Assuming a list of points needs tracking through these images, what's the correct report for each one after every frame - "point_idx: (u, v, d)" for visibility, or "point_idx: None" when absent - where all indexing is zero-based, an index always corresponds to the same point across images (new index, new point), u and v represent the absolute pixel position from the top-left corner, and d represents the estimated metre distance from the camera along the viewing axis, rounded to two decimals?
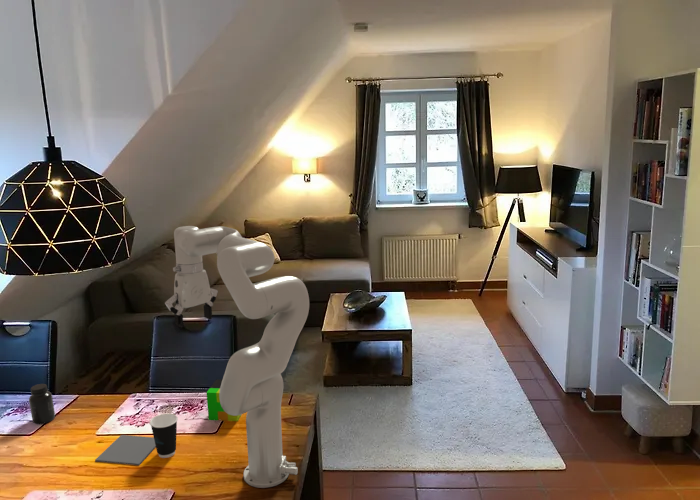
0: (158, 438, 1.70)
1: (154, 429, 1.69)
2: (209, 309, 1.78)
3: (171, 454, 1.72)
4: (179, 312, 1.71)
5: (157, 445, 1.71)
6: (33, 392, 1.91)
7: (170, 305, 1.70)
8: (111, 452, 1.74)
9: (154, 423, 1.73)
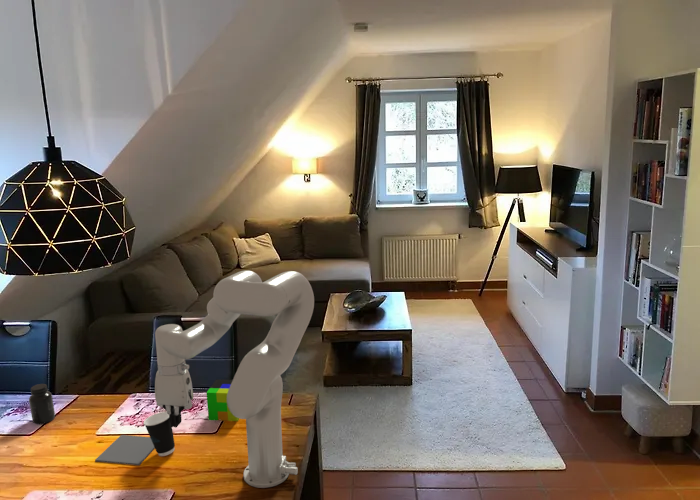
0: (154, 436, 1.70)
1: (148, 428, 1.69)
2: None
3: (170, 451, 1.72)
4: None
5: (154, 444, 1.71)
6: (33, 392, 1.91)
7: None
8: (111, 452, 1.74)
9: (149, 423, 1.74)
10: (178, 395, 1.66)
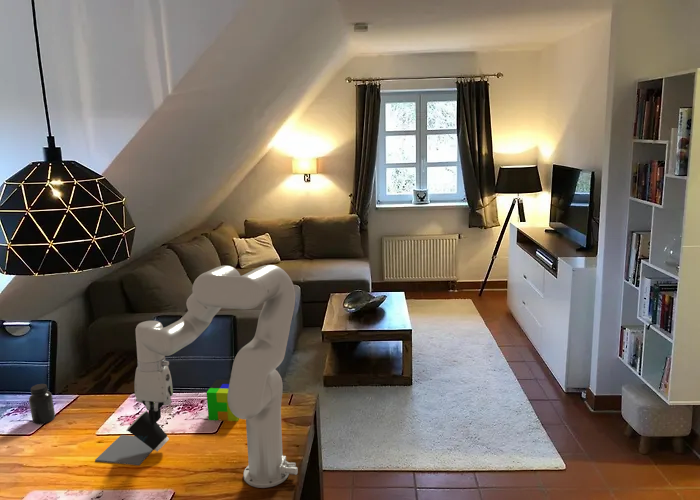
0: (140, 435, 1.71)
1: (131, 431, 1.71)
2: None
3: (163, 441, 1.72)
4: None
5: (146, 442, 1.71)
6: (33, 392, 1.91)
7: None
8: (111, 452, 1.74)
9: None
10: (157, 391, 1.67)
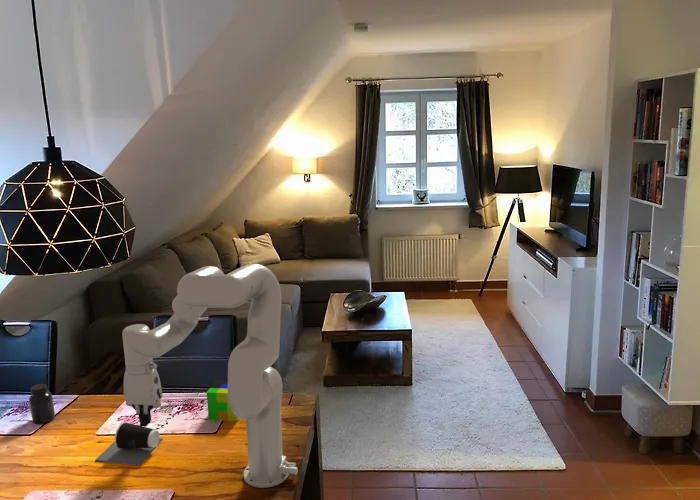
0: (128, 443, 1.72)
1: (120, 445, 1.73)
2: None
3: (150, 434, 1.72)
4: None
5: (137, 445, 1.72)
6: (33, 392, 1.91)
7: None
8: (111, 452, 1.74)
9: None
10: (146, 394, 1.68)
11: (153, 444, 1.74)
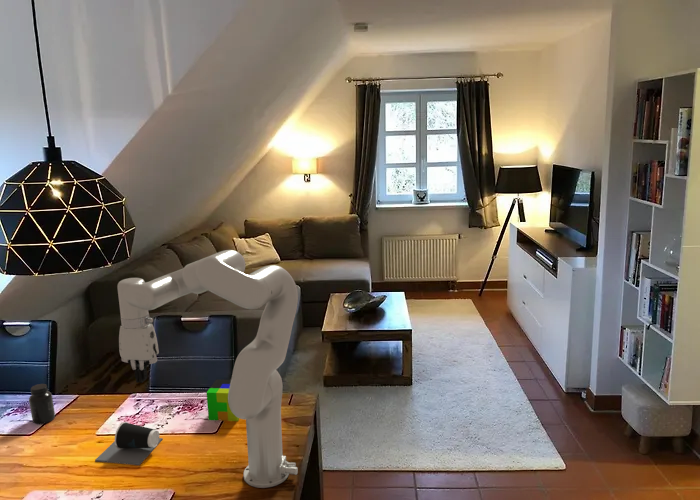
0: (128, 443, 1.72)
1: (120, 445, 1.73)
2: None
3: (150, 434, 1.72)
4: None
5: (137, 445, 1.72)
6: (33, 392, 1.91)
7: None
8: (111, 452, 1.74)
9: None
10: (142, 349, 1.65)
11: (153, 444, 1.74)
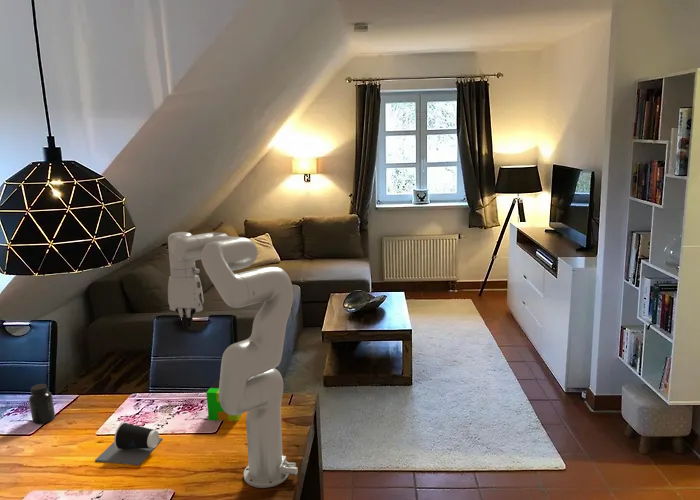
0: (128, 444, 1.72)
1: (119, 446, 1.73)
2: None
3: (150, 434, 1.72)
4: None
5: (137, 446, 1.72)
6: (33, 392, 1.91)
7: None
8: (111, 452, 1.74)
9: None
10: (190, 297, 1.79)
11: (153, 444, 1.74)
